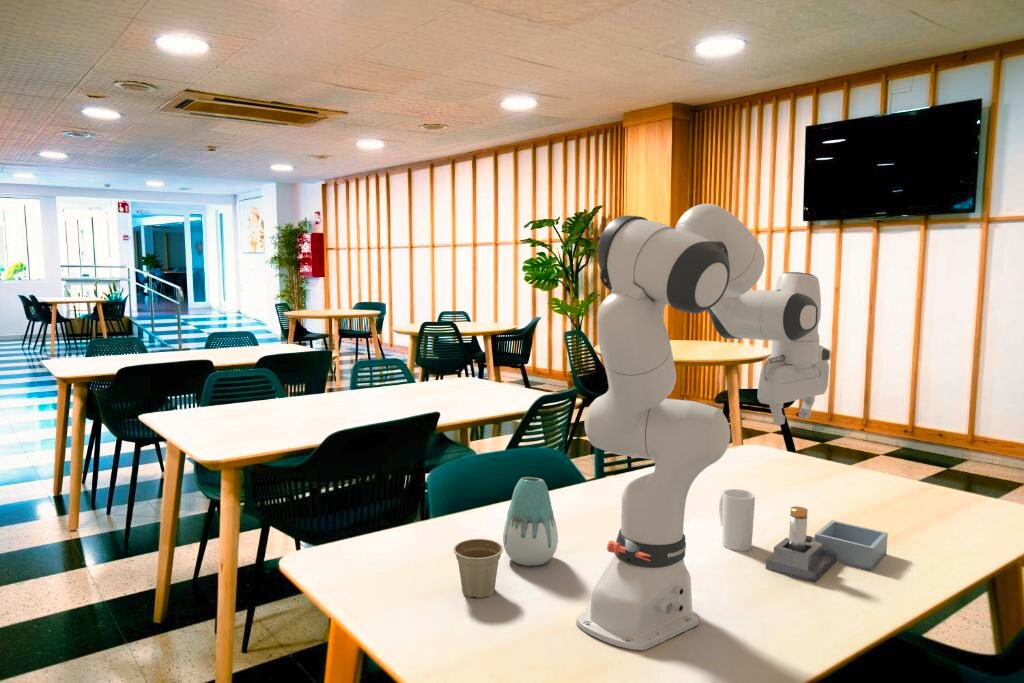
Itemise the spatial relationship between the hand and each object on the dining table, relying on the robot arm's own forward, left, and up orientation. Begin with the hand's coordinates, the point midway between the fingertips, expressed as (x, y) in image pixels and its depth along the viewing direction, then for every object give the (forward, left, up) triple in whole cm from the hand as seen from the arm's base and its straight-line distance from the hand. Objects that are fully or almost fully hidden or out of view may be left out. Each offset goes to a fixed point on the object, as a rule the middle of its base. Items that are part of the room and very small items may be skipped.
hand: (791, 420), depth 144 cm
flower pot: (-50, +40, -31) cm, 71 cm away
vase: (-32, +42, -31) cm, 61 cm away
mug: (+6, +14, -31) cm, 35 cm away
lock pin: (+1, -2, -29) cm, 29 cm away
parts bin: (+17, -8, -31) cm, 36 cm away
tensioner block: (+4, -2, -31) cm, 32 cm away
